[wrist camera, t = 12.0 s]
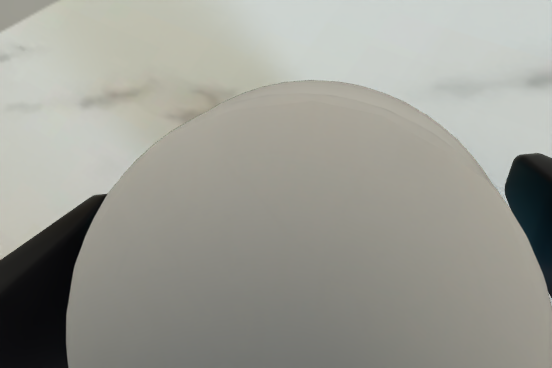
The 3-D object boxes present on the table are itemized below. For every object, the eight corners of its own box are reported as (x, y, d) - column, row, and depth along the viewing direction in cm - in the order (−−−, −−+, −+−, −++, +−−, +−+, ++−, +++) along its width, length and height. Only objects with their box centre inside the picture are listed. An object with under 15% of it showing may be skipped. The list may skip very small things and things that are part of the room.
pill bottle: (250, 149, 17) (13, -68, 4) (407, 167, 16) (781, -43, 3) (227, 304, 17) (-129, 639, 4) (388, 333, 16) (735, 958, 3)
